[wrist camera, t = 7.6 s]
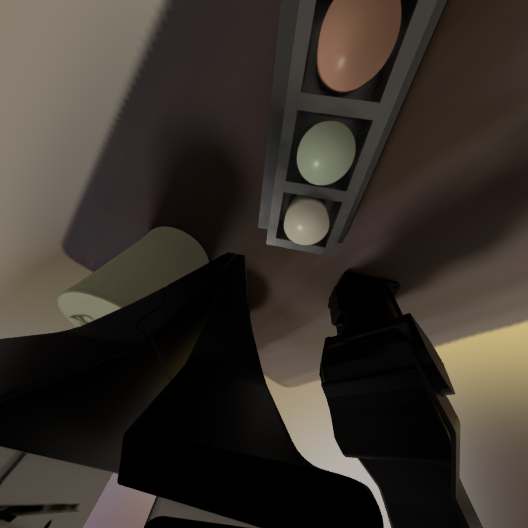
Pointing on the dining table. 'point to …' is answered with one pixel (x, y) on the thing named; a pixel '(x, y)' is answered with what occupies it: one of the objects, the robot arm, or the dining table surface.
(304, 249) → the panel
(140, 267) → the can
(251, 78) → the dining table surface
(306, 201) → the white egg
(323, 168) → the green rounded piece
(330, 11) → the brown egg
